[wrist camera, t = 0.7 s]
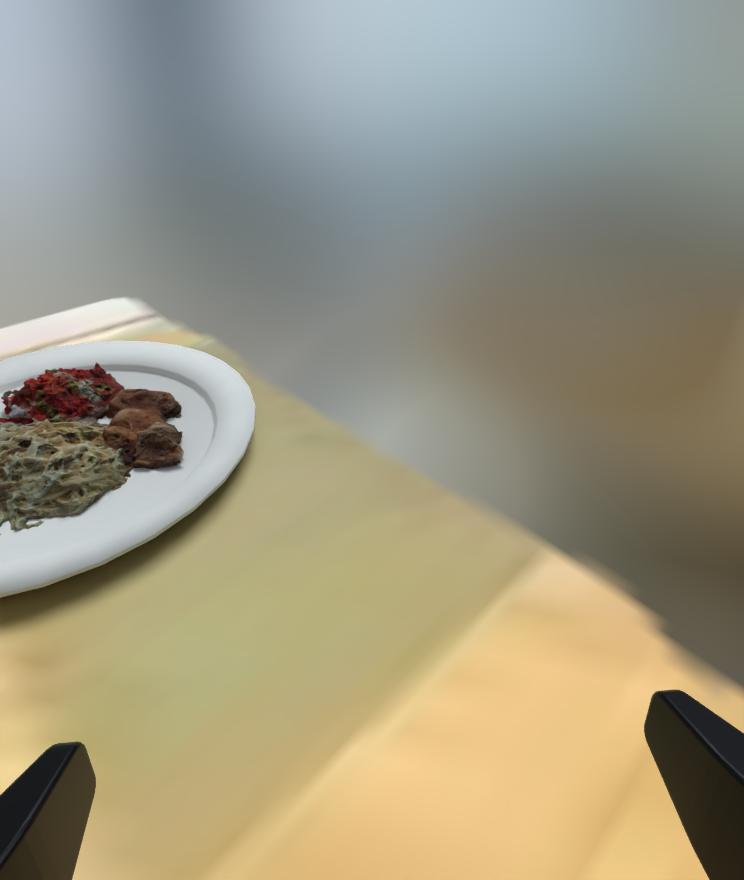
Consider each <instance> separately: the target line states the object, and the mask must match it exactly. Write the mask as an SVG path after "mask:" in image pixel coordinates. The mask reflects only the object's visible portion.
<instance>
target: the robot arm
mask: <svg viewBox="0 0 744 880" xmlns="http://www.w3.org/2000/svg"><path fill="white" fill-rule="evenodd" d="M644 733H645V737H646V741H647V743H648V746H649V748H650V751H651V753H652V755H653V757H654V760H655V762H656V764H657V767H658V769H659V771H660V774H661V776H662V778H663V781H664V783H665V785H666V788H667V790H668V792H669V795H670V797H671V799H672V801H673V804H674V806H675V808H676V811H677V813H678V815H679V818H680V820H681V822H682V825H683V827H684V829H685V831H686V834H687V836H688V838H689V840H690V842H691V844H692V847H693V849H694V851H695V853H696V855H697V857H698V858H699V860H700V862H701V864H702V866H703V868H704V870H705V872H706V874H707V876H708V878H709V879H710V880H744V733H742V732H741V731H739V730H738V729H736V728H735V727H734V726H732V725H731V724H729V723H728V722H726V721H725V720H724V719H722V718H721V717H719V716H718V715H716V714H715V713H714V712H712V711H711V710H709V709H708V708H706V707H705V706H704V705H702V704H701V703H699V702H698V701H696V700H695V699H694V698H692V697H691V696H689V695H688V694H686V693H685V692H683V691H680V690H665V691H657V692H655V693H654V694H653V696H652V698H651V702H650V705H649V709H648V713H647V717H646V720H645V724H644ZM95 788H96V778H95V774H94V771H93V768H92V765H91V762H90V759H89V756H88V753H87V750H86V747H85V745H84V744H82V743H81V742H69V743H58V744H55V745H53V746H51V747H50V748H48V749H47V750H46V751H45V752H44V753H43V754H42V755H41V756H40V757H39V758H38V759H37V760H36V761H35V762H34V763H33V764H32V765H31V766H30V767H29V768H28V769H27V770H25V771H24V772H23V773H22V774H21V775H20V776H19V777H18V778H17V779H16V780H15V781H14V782H13V783H12V784H11V785H10V786H9V787H8V788H7V789H6V790H5V791H4V792H3V793H2V794H1V795H0V880H72V877H73V874H74V870H75V866H76V862H77V859H78V855H79V851H80V847H81V843H82V840H83V836H84V832H85V828H86V824H87V821H88V817H89V813H90V809H91V805H92V802H93V798H94V794H95Z"/></svg>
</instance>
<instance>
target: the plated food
mask: <svg viewBox="0 0 744 880" xmlns="http://www.w3.org/2000/svg"><path fill="white" fill-rule="evenodd" d="M255 413H256V408H255V404H254V400H253V397H252V394H251V390H250V387H249V386H248V385H247V383H246V382H245V381H244V379H243V378H242V377H241V375H240V374H239V373H238V372H237V371H236V370H234V369H233V368H232V367H230V366H229V365H227V364H226V363H225V362H223V361H222V360H220V359H218V358H215V357H213V356H211V355H209V354H206V353H204V352H202V351H198V350H194V349H191V348H187V347H183V346H179V345H173V344H165V343H158V342H148V341H108V342H91V343H83V344H76V345H68V346H61V347H54V348H50V349H45V350H40V351H35V352H30V353H26V354H21V355H18V356H14V357H10V358H7V359H3V360H0V598H1V597H5V596H9V595H13V594H17V593H21V592H25V591H29V590H34V589H38V588H42V587H45V586H48V585H51V584H53V583H56V582H59V581H61V580H64V579H67V578H69V577H72V576H75V575H77V574H80V573H83V572H85V571H88V570H91V569H93V568H96V567H99V566H101V565H104V564H105V563H107V562H109V561H111V560H113V559H115V558H117V557H119V556H121V555H123V554H125V553H127V552H129V551H131V550H133V549H134V548H136V547H138V546H140V545H142V544H144V543H146V542H148V541H150V540H152V539H154V538H155V537H157V536H158V535H160V534H161V533H162V532H164V531H165V530H167V529H168V528H170V527H171V526H173V525H174V524H176V523H177V522H178V521H180V520H181V519H183V518H184V517H186V516H187V515H189V514H190V513H191V512H193V511H194V510H195V509H197V508H198V507H199V506H200V505H201V504H202V503H203V502H204V501H205V500H206V499H207V498H208V497H209V496H210V495H211V494H212V493H214V492H215V491H216V490H217V489H218V488H219V487H220V486H221V485H222V484H223V483H224V482H225V481H226V480H227V478H228V477H229V475H230V474H231V473H232V471H233V470H234V469H235V467H236V466H237V464H238V463H239V462H240V460H241V459H242V458H243V456H244V455H245V452H246V450H247V447H248V445H249V442H250V440H251V437H252V435H253V433H254V426H255Z"/></svg>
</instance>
